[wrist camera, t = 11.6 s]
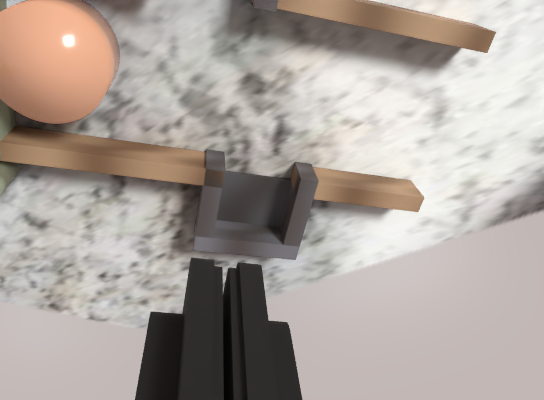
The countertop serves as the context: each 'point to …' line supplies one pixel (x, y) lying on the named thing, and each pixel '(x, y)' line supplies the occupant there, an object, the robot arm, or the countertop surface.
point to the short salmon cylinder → (55, 59)
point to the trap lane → (211, 164)
